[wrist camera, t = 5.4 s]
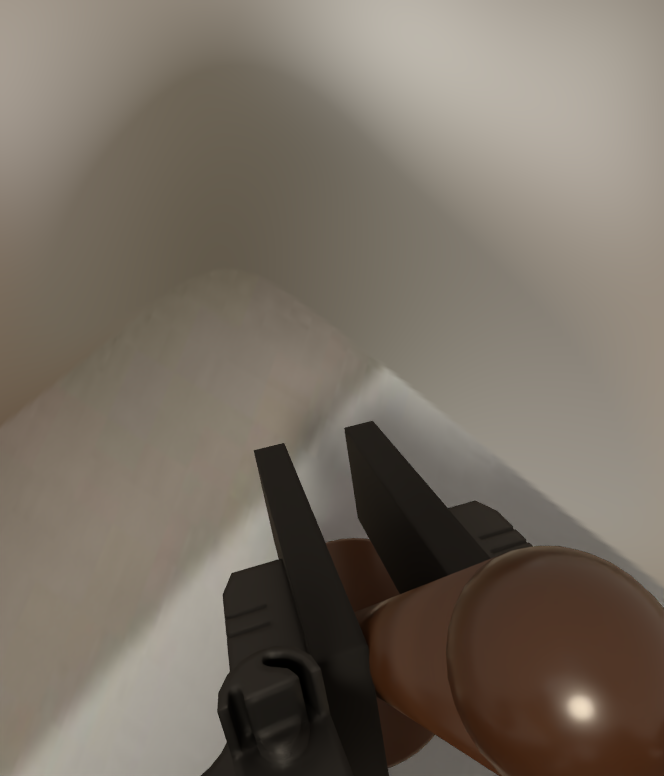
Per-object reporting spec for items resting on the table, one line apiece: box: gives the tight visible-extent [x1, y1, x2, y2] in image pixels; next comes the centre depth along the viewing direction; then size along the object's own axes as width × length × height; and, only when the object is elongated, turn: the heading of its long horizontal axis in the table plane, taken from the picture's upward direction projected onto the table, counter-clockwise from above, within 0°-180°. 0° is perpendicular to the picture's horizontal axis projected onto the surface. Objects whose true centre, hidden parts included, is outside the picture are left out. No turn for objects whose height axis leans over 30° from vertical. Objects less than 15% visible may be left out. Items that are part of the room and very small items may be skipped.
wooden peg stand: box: [326, 538, 664, 776], centre depth 10 cm, size 6×6×15 cm
